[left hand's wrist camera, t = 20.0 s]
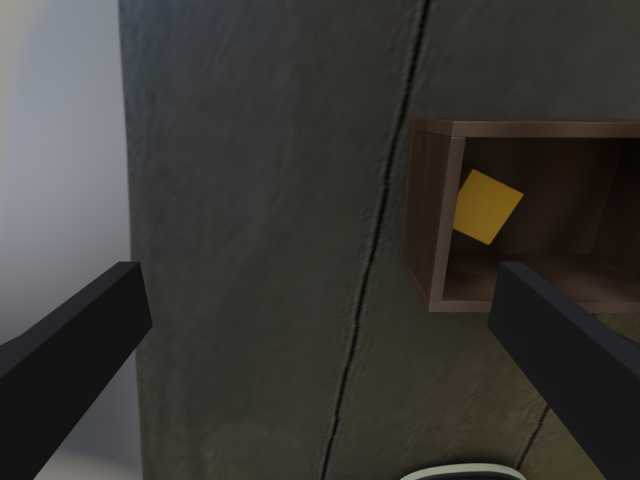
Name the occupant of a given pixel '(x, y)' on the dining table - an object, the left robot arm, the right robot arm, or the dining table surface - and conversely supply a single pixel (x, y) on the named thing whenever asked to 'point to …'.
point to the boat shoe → (466, 473)
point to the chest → (527, 209)
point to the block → (482, 205)
